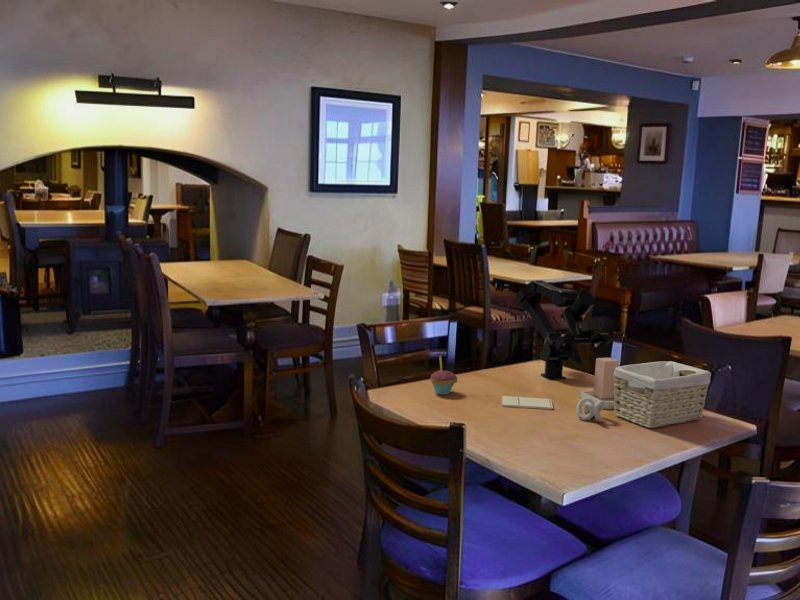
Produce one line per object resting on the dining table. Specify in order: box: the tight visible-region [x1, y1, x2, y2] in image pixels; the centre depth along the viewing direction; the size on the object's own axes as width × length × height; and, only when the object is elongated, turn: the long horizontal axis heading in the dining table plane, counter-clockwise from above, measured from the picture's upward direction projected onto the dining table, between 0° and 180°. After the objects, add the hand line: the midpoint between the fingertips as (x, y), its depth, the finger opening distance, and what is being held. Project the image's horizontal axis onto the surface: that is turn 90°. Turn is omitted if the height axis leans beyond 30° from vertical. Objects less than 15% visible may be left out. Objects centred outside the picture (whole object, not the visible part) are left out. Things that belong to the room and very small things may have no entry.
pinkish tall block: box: [593, 356, 620, 402], centre depth 219 cm, size 5×5×13 cm
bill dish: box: [578, 389, 614, 410], centre depth 220 cm, size 12×10×2 cm
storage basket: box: [613, 360, 712, 429], centre depth 204 cm, size 24×16×15 cm
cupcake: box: [430, 355, 458, 396], centre depth 224 cm, size 9×8×12 cm
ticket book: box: [501, 395, 554, 410], centre depth 216 cm, size 9×15×1 cm, turn 83°
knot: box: [575, 398, 605, 423], centre depth 202 cm, size 8×8×6 cm
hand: (592, 364), depth 225 cm, fingers open, 9 cm apart
